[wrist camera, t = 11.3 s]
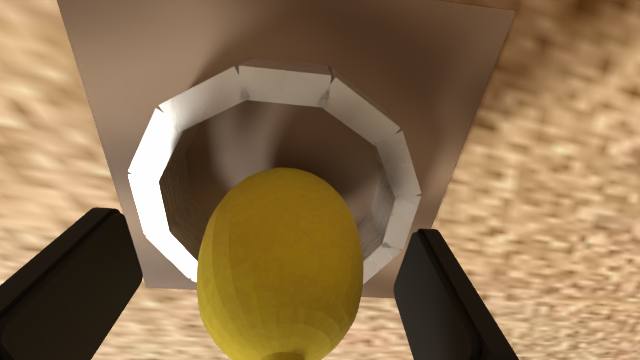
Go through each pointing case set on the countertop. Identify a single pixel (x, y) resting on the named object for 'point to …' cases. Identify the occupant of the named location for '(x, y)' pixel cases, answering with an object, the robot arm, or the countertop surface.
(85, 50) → the walnut board
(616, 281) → the countertop surface
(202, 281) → the lemon
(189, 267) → the steel ring
